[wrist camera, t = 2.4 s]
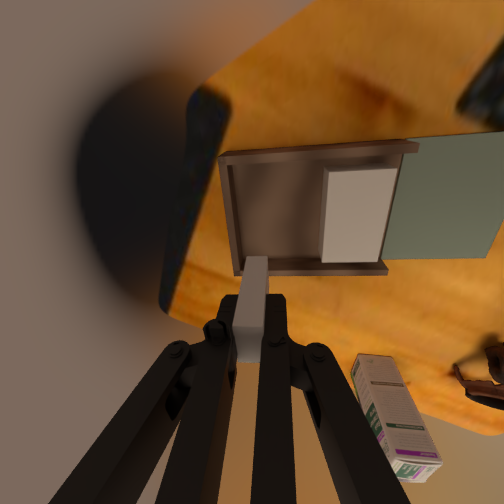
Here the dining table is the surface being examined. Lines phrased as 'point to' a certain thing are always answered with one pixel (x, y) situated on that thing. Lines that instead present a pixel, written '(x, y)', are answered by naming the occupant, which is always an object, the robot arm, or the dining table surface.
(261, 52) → the dining table surface
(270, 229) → the walnut box
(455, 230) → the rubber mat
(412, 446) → the syrup box
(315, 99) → the dining table surface
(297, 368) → the robot arm
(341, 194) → the light grey block
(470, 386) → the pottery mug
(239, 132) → the dining table surface
